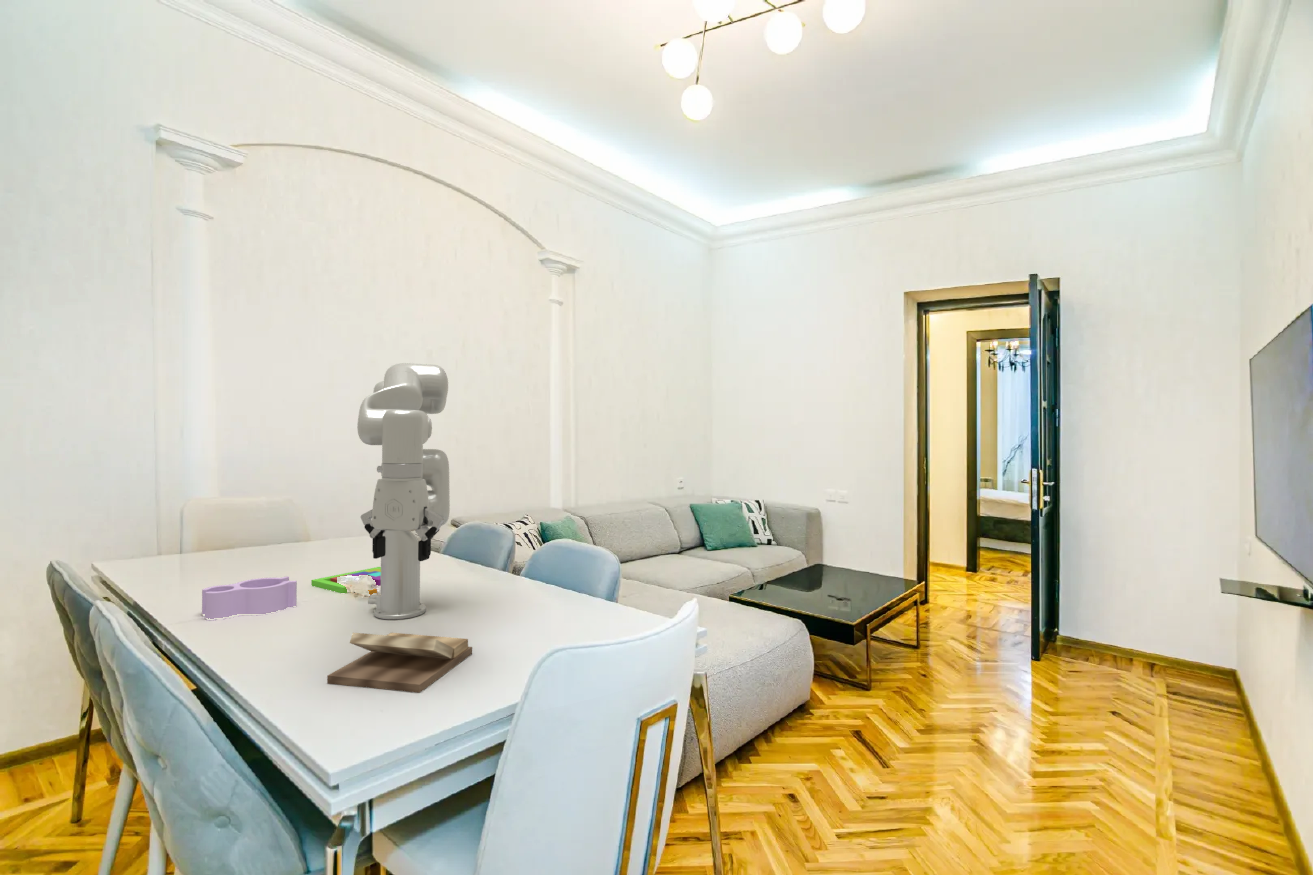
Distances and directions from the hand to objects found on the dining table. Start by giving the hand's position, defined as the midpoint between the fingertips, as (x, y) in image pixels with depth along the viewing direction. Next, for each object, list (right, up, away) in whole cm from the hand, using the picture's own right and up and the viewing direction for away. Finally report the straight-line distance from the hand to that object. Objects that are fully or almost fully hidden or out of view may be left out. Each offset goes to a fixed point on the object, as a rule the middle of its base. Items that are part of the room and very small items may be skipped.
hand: (401, 558), depth 130 cm
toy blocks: (-36, -21, +69) cm, 80 cm away
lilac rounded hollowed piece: (-54, -21, +39) cm, 70 cm away
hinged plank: (0, -19, +1) cm, 19 cm away
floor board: (0, -22, +2) cm, 23 cm away
